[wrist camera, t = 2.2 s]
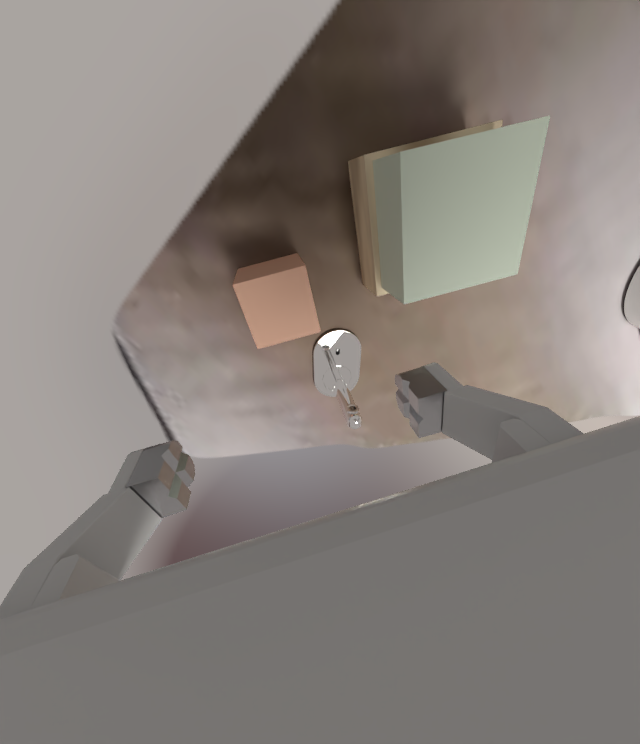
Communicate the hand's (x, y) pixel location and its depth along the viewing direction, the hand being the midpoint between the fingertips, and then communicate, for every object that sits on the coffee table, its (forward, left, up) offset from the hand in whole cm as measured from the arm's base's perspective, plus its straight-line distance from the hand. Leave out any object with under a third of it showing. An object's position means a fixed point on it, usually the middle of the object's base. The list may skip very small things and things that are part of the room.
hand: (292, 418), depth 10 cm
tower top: (-12, -3, -13) cm, 18 cm away
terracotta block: (0, 0, -16) cm, 16 cm away
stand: (-4, +9, -17) cm, 19 cm away
